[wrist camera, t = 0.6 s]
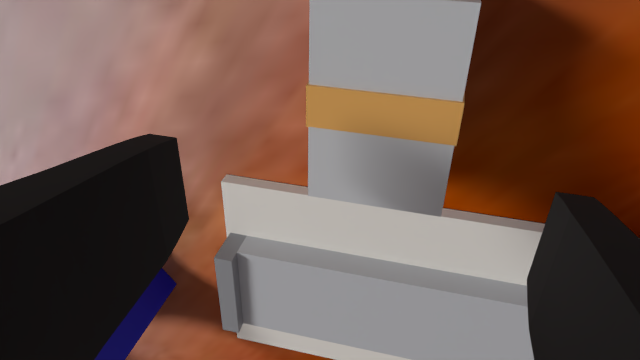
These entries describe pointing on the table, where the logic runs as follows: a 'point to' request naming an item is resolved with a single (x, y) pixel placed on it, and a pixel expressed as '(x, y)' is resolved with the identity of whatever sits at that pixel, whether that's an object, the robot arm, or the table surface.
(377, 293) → the rail board
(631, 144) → the table surface
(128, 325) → the cable clip
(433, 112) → the block
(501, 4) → the table surface
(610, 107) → the table surface
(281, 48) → the table surface
